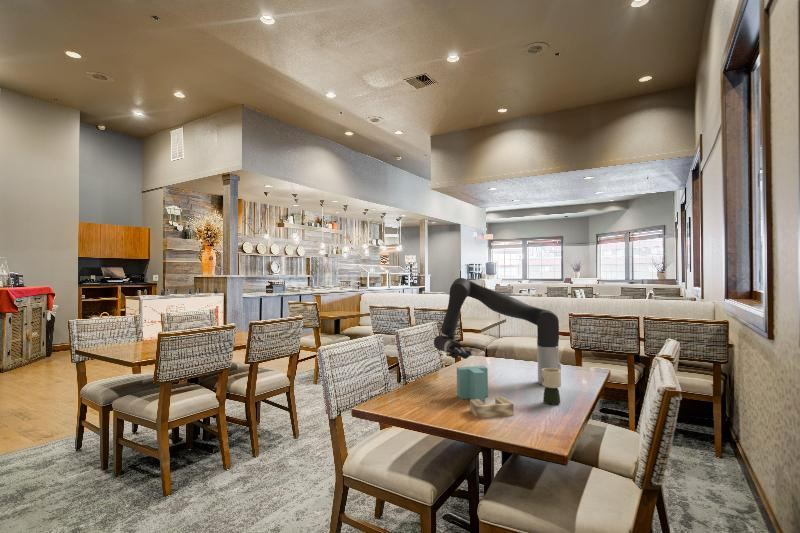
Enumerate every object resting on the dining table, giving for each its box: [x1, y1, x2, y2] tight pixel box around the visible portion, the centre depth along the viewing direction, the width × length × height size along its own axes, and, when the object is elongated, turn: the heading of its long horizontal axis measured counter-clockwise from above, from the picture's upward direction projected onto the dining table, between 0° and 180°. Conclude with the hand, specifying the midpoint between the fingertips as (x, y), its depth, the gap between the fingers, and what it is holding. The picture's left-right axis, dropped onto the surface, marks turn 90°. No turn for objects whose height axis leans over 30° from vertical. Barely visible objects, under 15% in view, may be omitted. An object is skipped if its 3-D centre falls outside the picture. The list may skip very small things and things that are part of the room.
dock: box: [469, 396, 515, 419], centre depth 156 cm, size 14×8×4 cm, turn 100°
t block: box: [456, 365, 489, 404], centre depth 173 cm, size 12×11×12 cm
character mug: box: [541, 368, 562, 405], centre depth 166 cm, size 11×7×13 cm, turn 146°
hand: (465, 356), depth 183 cm, fingers closed
